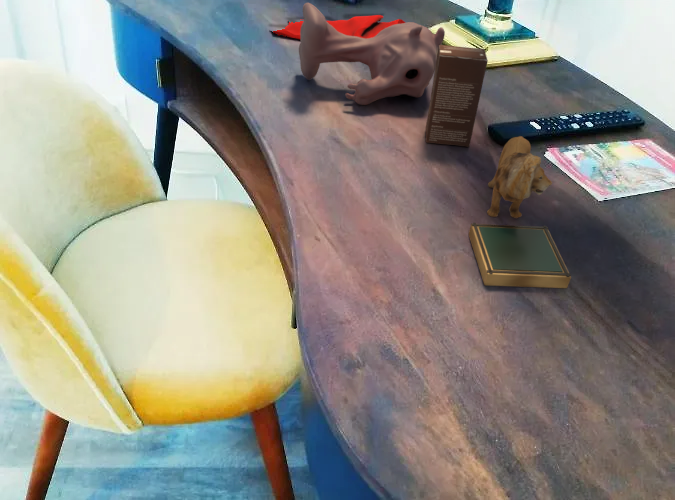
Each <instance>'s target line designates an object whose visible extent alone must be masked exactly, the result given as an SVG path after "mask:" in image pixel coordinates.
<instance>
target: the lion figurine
mask: <svg viewBox="0 0 675 500" xmlns="http://www.w3.org/2000/svg"><path fill="white" fill-rule="evenodd" d="M531 151H532V146H531V143H530V141H529V140H528V139H526V138H524V137H523V136H521V135H519V136H513V137H511V138H510V139H508V141H507V142H506V143H505V144H504V145H503V148H502V151H501V153H500V156H499V159H498V163H497V169H496V172H495V174H494V177H493V178H492V180H490V181H489V182H488V183H487V187H489V188H490V189H492V195H491V205H490V208H489V209H488V210H487V212H486V214H487V215H488V216H489V217H491V218H497V217H498V214H499V213H500V207H501V206H500V204H501V199H503V200H505V201H507V202H511V203H510V204H511V205H510V207H509V208H508V210H509V215H510V216H511V218H513V219H519V218H521V217H522V215H523V214H522V212H520V206H521V204H522V203H523V201H524V200H525V199H528V198H530V197H531V195H532V193H533V192H534V193H535V194H536V195H537V196H541V195H542V194H543V193H544V191H546V190H547V189H548V188H550V186H552V185H553V181H551V180H550V178H549V177H548V176H547V175H546V174H545V173H546V172H545V170H544V168H543V167H541V163H542V158H541V157H540V156H538V155H533V153H531Z"/></svg>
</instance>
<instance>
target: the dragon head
mask: <svg viewBox="0 0 675 500" xmlns="http://www.w3.org/2000/svg"><path fill="white" fill-rule="evenodd" d="M302 17H303V20H304V21H303V23H302V26H301V30H300V36H301V38H300V39H299V40H300V43H299V46H298V55H299V56H298V57H299V62H300V63H299V64H300V65H299V66H300V71H301V73H302V75H303V77H304V78H305V79H306V80H308V81H311V80H313V79H314V78H315V77H316V76H317V75H318V71H319V69H320V65H321V64H325V63H326V64H327V63H361V64H363V65H365V66H368V68H369V72H370V77H371V79H366V78H362V79H360V80H359V81H358V82H357V83H348V84H347V87H346V88H348V89H350V90H353V91H354V90H355V91H354V94H351V93H348V92H346V93H345V94H344V96H345V98H346V99H348V100H352V101H354V102H355V103H356V104H358V105H360V106H366V105H370V104H372V103H374V102H376V101H378V100H381V99H384V98H395V97H402V98H404V97H411V98H421V97H422V96H423V95H424V92H425V89H426V88H427V87H428V86H429V84H430V81H431V80H432V79H433V77H434V72H435V66H436V60H437V54H438V48H439V45H443V42H444V39H445V34H446V33H445V31H446V30H445V29H444V28H443V27H442V26H440V27H439V28H438V29H437V31H436V32H435V33H433V32H432V31H431V30H430V28H429V27H426V26H424V25H421V24H419V23H416V22H413V21H412V22H411V21H409V22H406V23H402V24H395V25H392V26H389V27H387V28H385V29H383V30H382V31H380V32H379V33H378V34H377V35H376V36H375V37H373V38H367V39H365V38H361V37H357V36H349V35H345V34H342V33H340V32H338V31H337V30H336V29H335V28H334V27H333V26H331V25H330V24H329V23H328V22H327V21H328V20H327V18H326V17H325V15H324V14H323V13H322V12H321V11H320V10H319V9H318V8H317V7H316V5H313V3H311V2H305V3H304V4H303V6H302Z"/></svg>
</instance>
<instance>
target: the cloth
mask: <svg viewBox="0 0 675 500" xmlns="http://www.w3.org/2000/svg"><path fill="white" fill-rule="evenodd" d="M382 19H384V16H383V15H381V14H374V15H361V16H360V15H358V16H352V17H351V18H349V19H338V20H337V19H336V20H326V21H327V22H328V23H329V24H330V25H331V26H333V27H334V28H335V29H336V30H337V31H338V32H340V33H342V34H345V35H349V36H357V37H361V38H365V39H367V38H373V37H375V36H376V35H377V34H378V33H379V32H380V31H382V30H383V29H385V28H387V27H389V26H392V25H395V24H402V23H407V22H406V21H405V20H403V19H401V18H398V19H395V20H392V21H382ZM302 23H303V21H300V22H295V23H293V22H291V23H290V22H289V23H288V24H287V25H286V26H284V28H285V29H282V30H277V31H273V34H275V35H276V34H278V35H277V36H280V35H283V36H282V37H286V36H287V37H286V38H291V39H296V40H300V38H301V36H300V30H301V26H302Z"/></svg>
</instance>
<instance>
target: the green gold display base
mask: <svg viewBox="0 0 675 500" xmlns="http://www.w3.org/2000/svg"><path fill="white" fill-rule="evenodd" d="M468 238H469V241H470V244H471V248H472V250H473V253H474V257H475V259H476V263H477V267H478V269H479V272H480V277H481V279H482V282H483V286H491V287H492V286H493V287H494V286H495V287H519V288H520V287H521V288H549V289H553V288H554V289H568V287H569V284H570V282H571V279H572V274H571V272H569V269H568V268H567V265H566V264H565V261H564V259H563V257H562V255H561V254H560V251H559V249H558V247H557V244H556V243H555V241H554V239H553V236H552V234H551V232H550V231H549V227H548V226H546V225H542V226H537V225H515V224H514V225H513V224H512V225H510V224H491V223H489V224H488V223H476V222H472V223H470V227H469V230H468Z"/></svg>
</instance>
